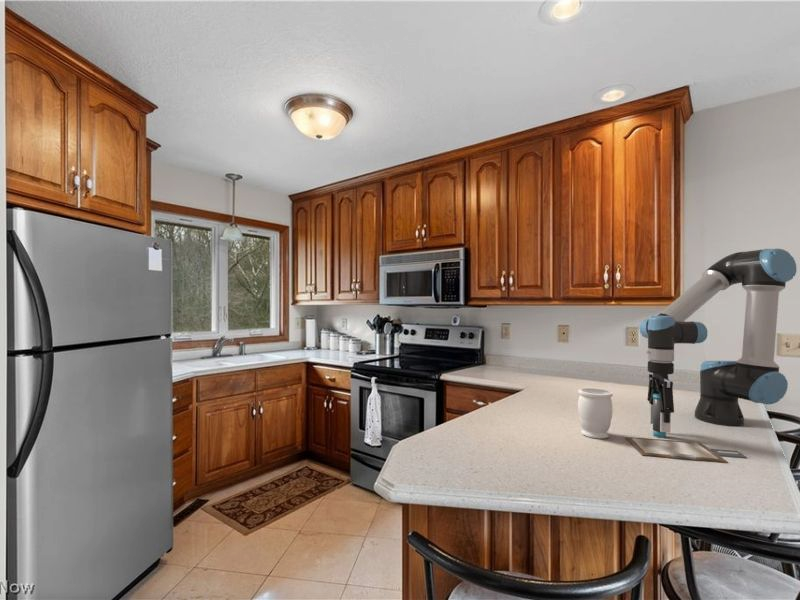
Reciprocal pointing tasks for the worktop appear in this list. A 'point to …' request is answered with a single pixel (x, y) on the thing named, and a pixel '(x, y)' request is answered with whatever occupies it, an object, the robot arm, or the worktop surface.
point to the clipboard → (674, 449)
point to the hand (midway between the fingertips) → (659, 427)
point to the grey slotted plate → (728, 453)
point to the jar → (595, 412)
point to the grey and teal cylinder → (657, 417)
